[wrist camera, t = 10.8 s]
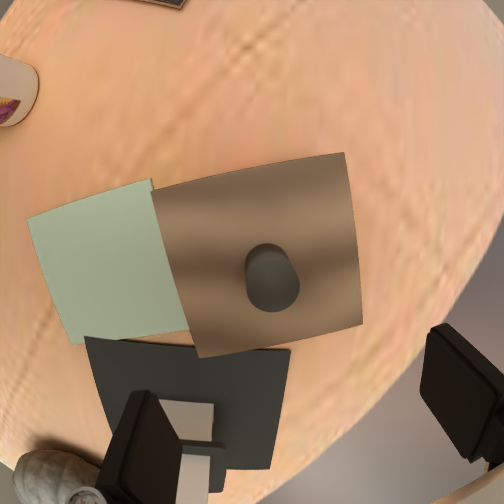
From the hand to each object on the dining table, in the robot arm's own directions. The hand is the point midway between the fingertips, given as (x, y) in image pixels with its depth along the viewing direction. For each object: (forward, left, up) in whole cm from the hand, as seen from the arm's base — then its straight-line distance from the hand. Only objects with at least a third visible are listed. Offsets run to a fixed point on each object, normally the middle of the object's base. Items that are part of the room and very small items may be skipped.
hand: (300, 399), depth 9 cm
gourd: (+38, -41, -22) cm, 60 cm away
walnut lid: (0, 0, -15) cm, 15 cm away
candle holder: (+22, -14, -22) cm, 34 cm away
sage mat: (0, -17, -22) cm, 28 cm away
